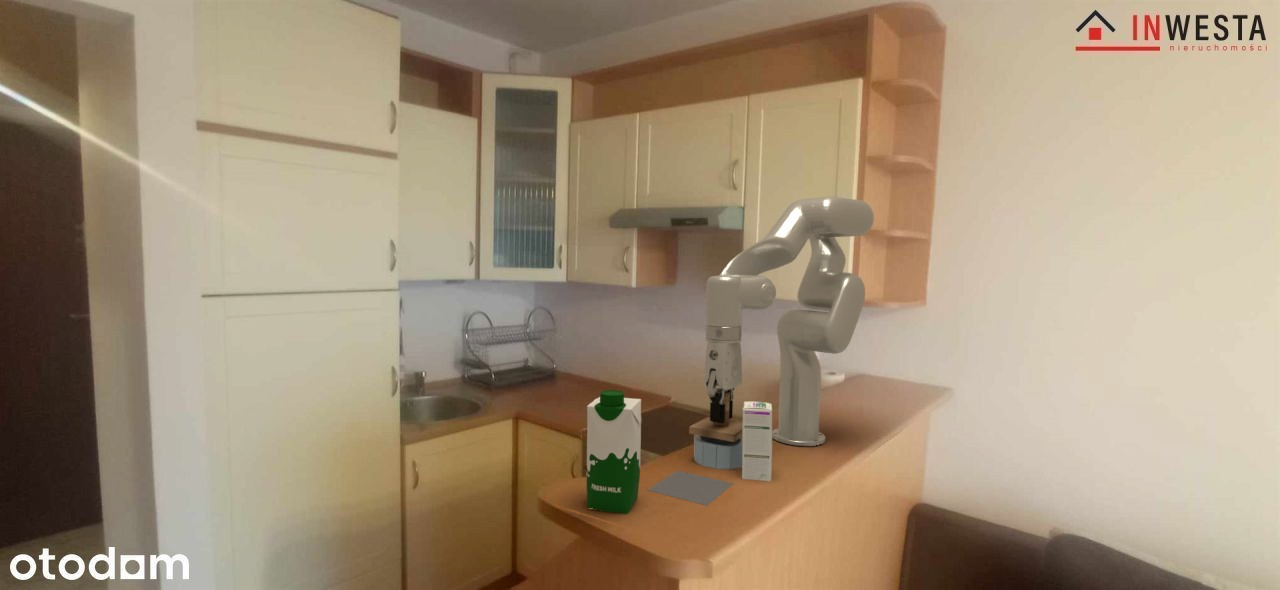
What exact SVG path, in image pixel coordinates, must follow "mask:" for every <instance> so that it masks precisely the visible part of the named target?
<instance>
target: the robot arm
mask: <svg viewBox="0 0 1280 590" xmlns="http://www.w3.org/2000/svg"><path fill="white" fill-rule="evenodd" d="M874 221H875V215H874V212H873V209H872V207H871V206H870V204H869V203H867V202H866V201H864V200H860V199H855V198H854V199H853V198H848V197H847V198H846V197H839V196H820V197H811V198H802V199H797V200H795V201H793V202H791V203H790V204H789V205H788V206H787V207H786V209H785V210H784V212H782V214H781V215H780V217H779V218H778V219H777V221H776V222H775V224H774V225H773V226H772V228H771V229H770V230H769V232H768V233H767V234H766V235H765V236H764V237H763V238H762V239H760V240H759V241H757V242H756V243H753V244H752V245H750V246H749V247H748V248H746V249H744V250H743V251H741V252H740V253H738V254H736V256H734V257H733V258H732V259H731V260H729V262H728V263H727V264H726V266H724V268H723V270H721V272H720V273H719V275H714V276H713V275H712V276H710V277H709V278H708V279H707V281H706V296H705V297H706V299H705V300H706V302H705V304H706V305H705V337H704V338H705V341H706V349H705V357H704V358H705V360H704V386H705V388H706V391H705V392H706V395H707V396H708V398H709V403H710V404H709V405H710V407H709V416H710V421H712V422H718V423H724V422H725V404H723V403H724V392H725V391H727V392H729V393H730V401H729V420H732V419H733V413H734V412H733V411H734V410H733V408H734V406H733V405H734V403H733V402H734V395H735V394H734V390H735V388H736V387H738V386H739V385H741V383H742V382H743V370H742V369H743V367H742V365H743V361H742V357H743V356H742V346H741V342H742V328H743V327H742V324H743V323H742V322H743V310H749V311H750V310H752V311H762V310H765V309H768V307H771V305H773V303H774V302H775V299H776V297H777V289H776V285H775V284H774V282H773V281H772V280H771V279H770V278H768V277H766V276H762V275H761V274H763V273H765V272H769V271H772V270H776V269H779V268H781V267H784V266H786V265H789V264H791V263H793V262H794V261H795V260H796V259H797V257H798V256H799V254H800V253H801V251H802V250H803V249H804V247H805V246H806V244H807V243H808V242H810V248H811V255H810V258H809V262H808V265H807V267H806V269H805V272H804V274H803V277H802V278H801V282H800V284H799V287H798V290H797V301H798V303H799V304H800V305H801V306H802V307H803V308H806V309H792V310H789V311H786V312H784V313H783V314H782V315H781V316H780V317H779V319H778V321H777V326H776V333H777V339H778V345H779V353H780V355H779V357H780V360H779V361H780V364H779V365H780V369H779V370H780V371H779V372H780V373H779V397H778V398H779V399H778V428H775V429H772V439H773V440H775V441H777V442H779V443H782V444H786V445H791V446H798V447H816V445H817V446H821V445H823V444H824V443H825V442H826V435H825V434H824V433H822V432H821V431H820V410H821V409H820V408H821V406H820V405H821V404H820V403H821V381H822V380H821V379H822V378H821V377H822V370H821V364H820V360H819V359H818V356H817V354H816V352H818V353H825V354H831V355H833V354H834V355H835V354H840V353H843V352H844V351H846V349H847V348H848V346H849V345H850V343H851V341H852V338H853V335H854V332H855V330H856V327H857V323H858V322H859V319H860V316H861V313H862V310H863V307H864V303H865V300H866V287H865V283H864V281H863V280H862V277H860V276H859V275H857V274H855V273H852V272H844V269H845V266H846V263H847V262H846V261H847V259H846V255H845V252H844V250H843V249H842V247H841V245H840V244H839V243H838V241H837V239H836V238H842V237H844V238H845V237H847V238H848V237H849V238H850V237H860V236H865V235H866V234H867V233H869V231H871V229H872V227H873V225H874ZM807 309H809V310H807ZM717 386H718V387H719V388H718V387H717ZM716 391H717V392H720V396H719V394H718V393H716ZM820 444H821V445H820Z"/></svg>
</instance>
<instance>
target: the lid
mask: <svg viewBox="0 0 1280 590" xmlns="http://www.w3.org/2000/svg"><path fill="white" fill-rule="evenodd" d="M716 393H718V394H719V396H720V392H717V391H716ZM729 401H730V393H729V392H727V391H725V392H724V403H723V404H725V422H724V423H718V422H712V421H710V415H709V416H707V417H706V418H703V419H701V420H699V421H697V422H695V423H694V424H691V425H690V426H689V430H688V431H689V432H688V433H689V435H693V436H694V435H699V436H704V437H710V438H715V439H720V440H726V441H731V442H735V441H736V440H738V439H739V438H741V437H742V428H743V421H739V420H735V419H733V420H732V419H729Z"/></svg>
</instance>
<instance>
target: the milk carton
mask: <svg viewBox="0 0 1280 590" xmlns="http://www.w3.org/2000/svg"><path fill="white" fill-rule="evenodd" d="M586 411H587V412H586V413H587V415H586V417H587V418H586V420H587V424H586V425H587V428H586V429H587V431H586V433H587V434H586V499H587V500H586V502H587V509H588V508H593V509H596V510H595V511H597V510H602V511H601V512H605V511H606V512H607V513H613V514H623V515H628V514H629V513H630V511H631V509H632V508H633V506H634V505H635V503H636V501H637V499H638V495H639V486H640V479H641V451H642V449H641V445H642V444H641V443H642V399H641V398H630V397H625V392H624V391H621V390H615V389H609V390H607V389H606V390H602V391H601V392H600V393H599V397H598V398H595V399H593V401H591V402H590V403H589V404H588V405H587V406H586Z"/></svg>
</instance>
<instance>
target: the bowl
mask: <svg viewBox="0 0 1280 590" xmlns="http://www.w3.org/2000/svg"><path fill="white" fill-rule="evenodd" d="M693 460H694V462H695V463H697V464H699V465H700V466H702V467H704V468H705V467H706V468H710V469H715V470H716V469H717V470H732V469H733V470H734V469H738V468H742V437H741V438H739V439H738V440H736V441H735V442H731V441H726V440H720V439H715V438H710V437H704V436H699V435H694V434H693Z"/></svg>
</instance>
